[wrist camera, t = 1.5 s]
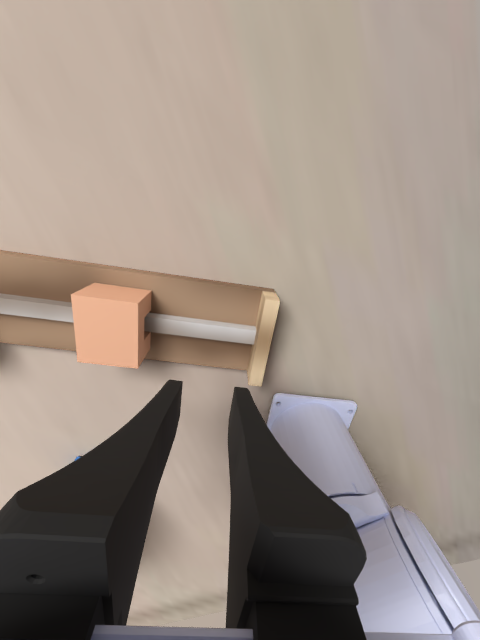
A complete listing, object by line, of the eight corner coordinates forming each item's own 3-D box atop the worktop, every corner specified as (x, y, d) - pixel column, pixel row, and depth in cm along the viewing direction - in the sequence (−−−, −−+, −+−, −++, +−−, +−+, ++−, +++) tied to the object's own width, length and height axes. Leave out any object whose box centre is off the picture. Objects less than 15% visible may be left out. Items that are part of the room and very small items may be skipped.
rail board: (257, 365, 22) (263, 399, 18) (-37, 331, 20) (-105, 360, 16) (273, 289, 20) (284, 308, 16) (-62, 241, 18) (-151, 249, 14)
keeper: (150, 348, 20) (137, 368, 18) (98, 342, 20) (77, 361, 17) (151, 290, 19) (138, 303, 16) (94, 282, 18) (70, 294, 16)
